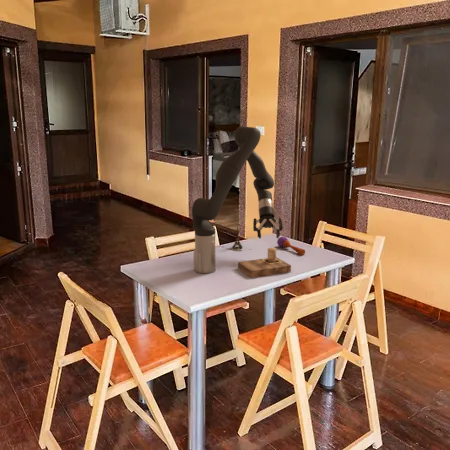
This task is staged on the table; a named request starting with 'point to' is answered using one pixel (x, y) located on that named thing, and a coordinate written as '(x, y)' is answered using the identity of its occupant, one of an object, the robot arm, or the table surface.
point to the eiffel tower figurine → (237, 243)
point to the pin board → (263, 267)
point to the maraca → (289, 245)
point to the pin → (271, 255)
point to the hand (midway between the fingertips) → (268, 237)
